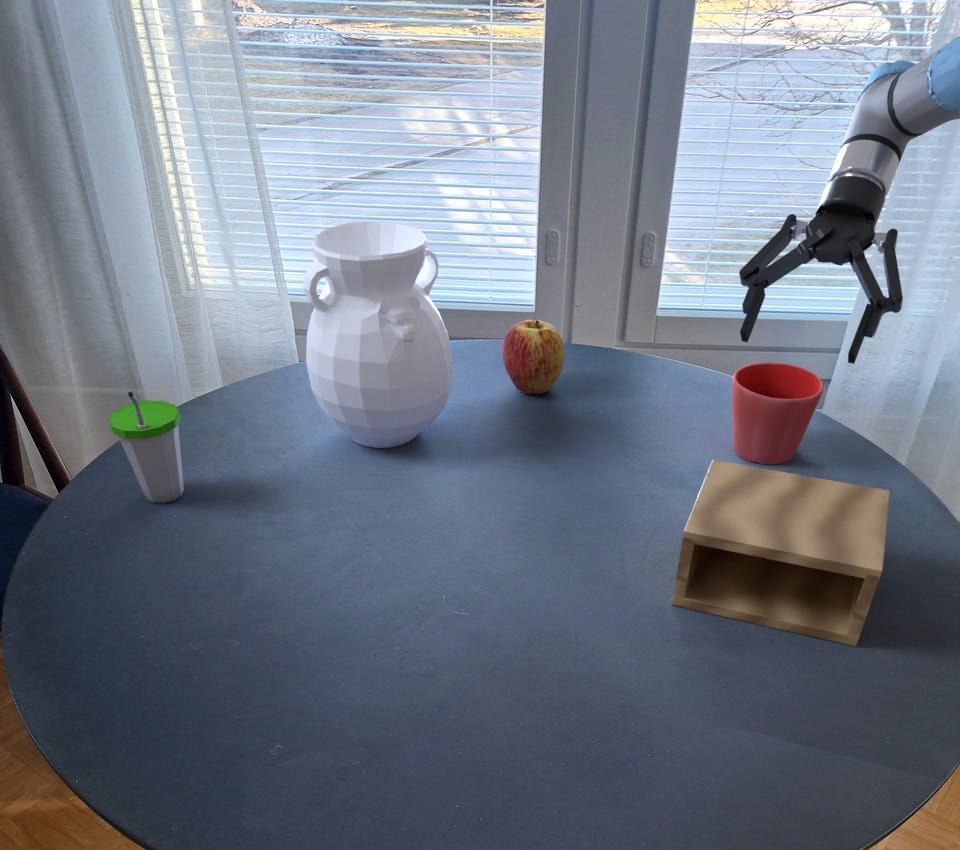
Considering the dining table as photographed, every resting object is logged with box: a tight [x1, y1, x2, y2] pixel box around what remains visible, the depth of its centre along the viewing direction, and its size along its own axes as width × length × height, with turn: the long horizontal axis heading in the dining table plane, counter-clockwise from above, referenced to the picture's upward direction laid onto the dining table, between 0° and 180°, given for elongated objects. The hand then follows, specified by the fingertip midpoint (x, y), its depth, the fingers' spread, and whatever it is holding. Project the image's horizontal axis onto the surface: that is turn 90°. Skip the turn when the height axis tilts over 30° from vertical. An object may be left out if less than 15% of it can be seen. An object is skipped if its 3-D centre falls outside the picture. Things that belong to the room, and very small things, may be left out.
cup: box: [107, 391, 185, 504], centre depth 104 cm, size 8×8×15 cm
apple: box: [501, 319, 566, 395], centre depth 128 cm, size 9×9×10 cm
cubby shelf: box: [671, 459, 891, 647], centre depth 92 cm, size 18×15×9 cm
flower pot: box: [731, 361, 825, 465], centre depth 114 cm, size 11×11×10 cm
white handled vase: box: [302, 221, 454, 449], centre depth 113 cm, size 19×18×25 cm
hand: (796, 347), depth 114 cm, fingers open, 13 cm apart
